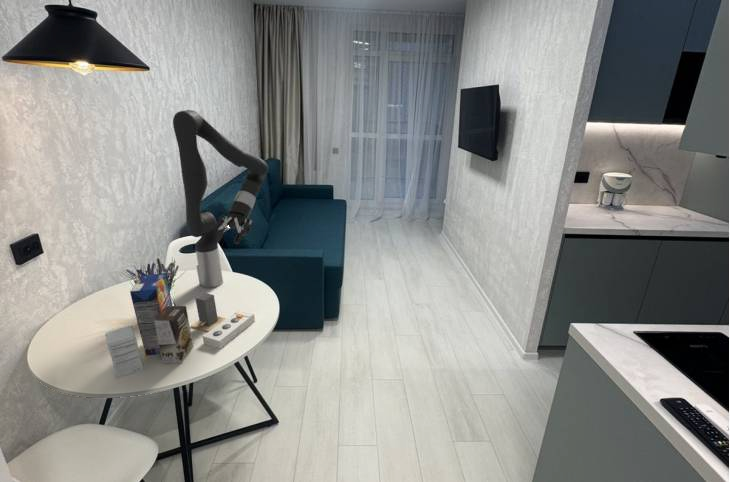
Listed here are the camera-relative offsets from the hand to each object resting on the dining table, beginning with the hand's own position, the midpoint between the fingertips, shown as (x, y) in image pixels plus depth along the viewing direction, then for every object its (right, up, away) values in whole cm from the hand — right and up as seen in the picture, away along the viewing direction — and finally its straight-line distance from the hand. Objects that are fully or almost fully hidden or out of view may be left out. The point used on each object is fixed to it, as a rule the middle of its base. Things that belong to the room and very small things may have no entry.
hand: (226, 241), depth 146 cm
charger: (-6, -30, -1) cm, 31 cm away
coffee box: (-9, -38, -18) cm, 43 cm away
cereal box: (-18, -36, -13) cm, 42 cm away
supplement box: (-22, -40, -24) cm, 52 cm away
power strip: (+4, -33, -6) cm, 34 cm away
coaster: (-6, -31, -1) cm, 32 cm away
